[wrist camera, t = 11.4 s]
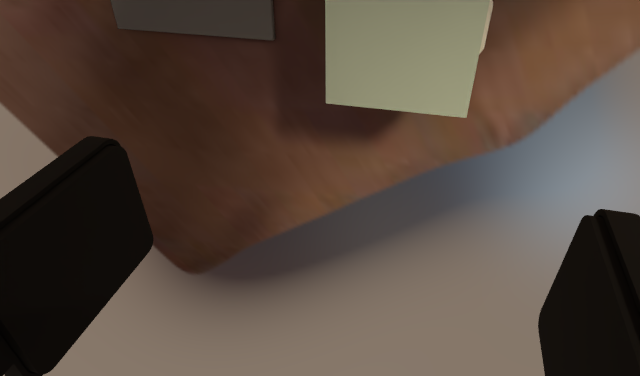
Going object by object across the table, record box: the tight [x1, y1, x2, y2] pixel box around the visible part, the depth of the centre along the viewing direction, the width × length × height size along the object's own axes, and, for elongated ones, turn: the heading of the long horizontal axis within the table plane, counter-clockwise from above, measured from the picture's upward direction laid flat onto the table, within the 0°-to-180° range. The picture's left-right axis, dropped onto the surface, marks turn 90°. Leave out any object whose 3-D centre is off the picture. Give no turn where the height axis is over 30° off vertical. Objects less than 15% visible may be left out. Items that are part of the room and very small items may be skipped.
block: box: [325, 0, 490, 118], centre depth 21 cm, size 7×7×3 cm
